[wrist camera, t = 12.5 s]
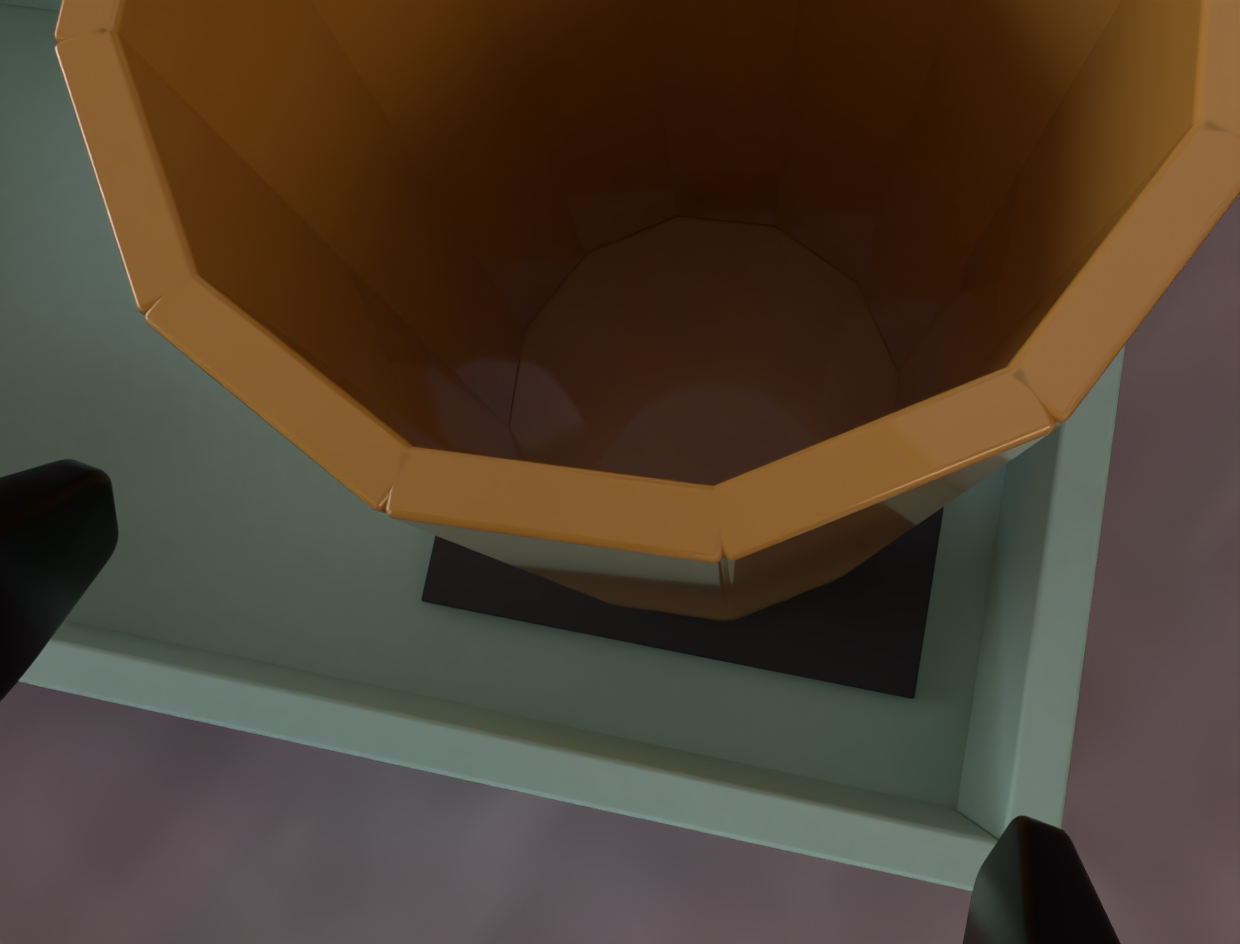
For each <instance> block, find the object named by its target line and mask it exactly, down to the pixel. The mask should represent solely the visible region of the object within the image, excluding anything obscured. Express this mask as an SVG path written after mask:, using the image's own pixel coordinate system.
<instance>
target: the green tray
mask: <svg viewBox="0 0 1240 944" xmlns="http://www.w3.org/2000/svg"><path fill="white" fill-rule="evenodd" d="M60 4H61V0H0V477H3V476H6V475H10V474H13V473H17V472H20V471H24V470H27V469H30V468H34V467H37V466H41V465H44V464H48V463H51V462H54V461H58V460H63V459H73V460H77V461H80V462H82V463H85V464H88V465H90V466H93V467H96V468H98V469H101V470H103V471H104V472H106V473H107V474H108V476H109V477H110V479H111V482H112V487H113V494H114V501H115V508H116V515H117V522H118V529H119V536H118V542H117V545H116V548H115V550H114V552H113V554H112V556H111V558H110V559H109V561H108V562H107V563H106V565H105V566H104V567H103V569H102V570H101V571H100V573H99V574H98V575H97V577H96V578H95V580H94V581H93V582H92V584H91V585H90V586H89V588H88V589H87V590H86V592H85V593H84V594H83V596H82V597H81V599H80V600H79V601H78V603H77V604H76V605H75V607H74V608H73V609H72V611H71V612H70V614H69V615H68V616H67V618H66V619H65V620H64V622H63V623H62V624H61V626H60V627H59V628H58V630H57V631H56V633H55V634H54V635H53V637H52V638H51V639H50V641H49V642H48V643H47V645H46V646H45V647H44V649H43V650H42V652H41V653H40V654H39V656H38V657H37V658H36V660H35V661H34V662H33V663H32V665H31V666H30V667H29V668H28V670H27V671H26V672H25V673H24V675H23V676H22V677H21V678H20V680H19V681H18V682H22V683H26V684H31V685H35V686H40V687H44V688H49V689H54V690H58V691H63V692H67V693H72V694H76V695H81V696H85V697H90V698H94V699H99V700H104V701H108V702H113V703H117V704H122V705H126V706H131V707H135V708H140V709H145V710H149V711H154V712H158V713H163V714H167V715H172V716H176V717H181V718H185V719H190V720H195V721H199V722H204V723H208V724H213V725H217V726H222V727H226V728H231V729H236V730H240V731H245V732H249V733H254V734H258V735H263V736H267V737H272V738H276V739H281V740H286V741H290V742H295V743H299V744H304V745H308V746H313V747H317V748H322V749H327V750H331V751H336V752H340V753H345V754H349V755H354V756H358V757H363V758H367V759H372V760H377V761H381V762H386V763H390V764H395V765H399V766H404V767H408V768H413V769H418V770H422V771H427V772H431V773H436V774H440V775H445V776H449V777H454V778H458V779H463V780H468V781H472V782H477V783H481V784H486V785H490V786H495V787H499V788H504V789H509V790H513V791H518V792H522V793H527V794H531V795H536V796H540V797H545V798H549V799H554V800H559V801H563V802H568V803H572V804H577V805H581V806H586V807H590V808H595V809H600V810H604V811H609V812H613V813H618V814H622V815H627V816H631V817H636V818H640V819H645V820H650V821H654V822H659V823H663V824H668V825H672V826H677V827H681V828H686V829H690V830H695V831H700V832H704V833H709V834H713V835H718V836H722V837H727V838H731V839H736V840H741V841H745V842H750V843H754V844H759V845H763V846H768V847H772V848H777V849H781V850H786V851H791V852H795V853H800V854H804V855H809V856H813V857H818V858H822V859H827V860H832V861H836V862H841V863H845V864H850V865H854V866H859V867H863V868H868V869H872V870H877V871H882V872H886V873H891V874H895V875H900V876H904V877H909V878H913V879H918V880H923V881H927V882H932V883H936V884H941V885H945V886H950V887H954V888H959V889H963V890H968V891H973V887H974V883H975V880H976V877H977V874H978V872H979V870H980V867H981V865H982V864H983V862H984V861H985V859H986V858H987V856H988V855H989V853H990V852H991V850H992V849H993V847H994V846H995V844H996V843H997V841H998V840H999V838H1000V837H1001V835H1002V834H1003V832H1004V831H1005V829H1006V828H1007V826H1008V825H1009V823H1010V822H1011V821H1012V820H1013V819H1014V818H1015V817H1017V816H1020V815H1025V816H1028V817H1031V818H1034V819H1036V820H1039V821H1042V822H1045V823H1047V824H1050V825H1053V826H1055V827H1058V828H1060V829H1061V827H1062V819H1063V812H1064V804H1065V797H1066V789H1067V782H1068V774H1069V767H1070V759H1071V752H1072V744H1073V736H1074V729H1075V721H1076V714H1077V706H1078V699H1079V691H1080V684H1081V676H1082V669H1083V661H1084V654H1085V646H1086V638H1087V631H1088V623H1089V616H1090V608H1091V601H1092V593H1093V586H1094V578H1095V571H1096V563H1097V556H1098V548H1099V540H1100V533H1101V525H1102V518H1103V510H1104V503H1105V495H1106V488H1107V480H1108V473H1109V465H1110V458H1111V450H1112V442H1113V435H1114V427H1115V420H1116V412H1117V405H1118V397H1119V390H1120V382H1121V375H1122V367H1123V360H1124V352H1125V345H1126V344H1125V345H1124V347H1123V348H1122V349H1121V351H1120V352H1119V353H1118V355H1117V356H1116V357H1115V359H1114V360H1113V361H1112V362H1111V364H1110V365H1109V366H1108V368H1107V369H1106V370H1105V372H1104V373H1103V374H1102V376H1101V377H1100V378H1099V380H1098V381H1097V382H1096V384H1095V385H1094V386H1093V387H1092V389H1091V390H1090V391H1089V393H1088V394H1087V395H1086V397H1085V398H1084V399H1083V401H1082V402H1081V403H1080V405H1079V406H1078V407H1077V409H1076V410H1075V411H1074V413H1073V414H1072V415H1071V416H1070V418H1069V419H1068V420H1067V421H1065V422H1064V423H1062V424H1061V425H1060V426H1058V427H1057V428H1055V429H1054V430H1053V431H1052V432H1051V433H1050V434H1048V435H1047V436H1045V437H1044V438H1042V439H1041V440H1040V441H1038V442H1037V443H1035V444H1034V445H1032V446H1031V447H1029V448H1028V449H1026V450H1025V451H1024V452H1022V453H1021V454H1019V455H1018V456H1016V457H1015V458H1013V459H1012V460H1010V461H1009V462H1008V463H1006V464H1005V465H1003V466H1002V467H1000V468H999V469H997V470H996V471H995V472H993V473H992V474H990V475H989V476H987V477H986V478H984V479H983V480H981V481H980V482H979V483H977V484H976V485H974V486H973V487H971V488H970V489H968V490H967V491H965V492H964V493H963V494H961V495H960V496H958V497H957V498H955V499H954V500H952V501H951V502H949V503H948V504H947V505H945V506H944V510H943V516H942V523H941V529H940V536H939V542H938V549H937V555H936V562H935V568H934V575H933V581H932V588H931V594H930V601H929V607H928V614H927V620H926V627H925V633H924V640H923V646H922V653H921V659H920V666H919V672H918V679H917V685H916V692H915V697H914V699H910V698H905V697H900V696H895V695H890V694H885V693H880V692H875V691H870V690H865V689H860V688H855V687H850V686H845V685H840V684H835V683H830V682H825V681H820V680H815V679H810V678H805V677H800V676H795V675H790V674H785V673H779V672H774V671H769V670H764V669H759V668H754V667H749V666H744V665H739V664H734V663H729V662H724V661H719V660H714V659H709V658H704V657H699V656H694V655H689V654H684V653H679V652H674V651H669V650H664V649H659V648H654V647H649V646H644V645H639V644H634V643H629V642H623V641H618V640H613V639H608V638H603V637H598V636H593V635H588V634H583V633H578V632H573V631H568V630H563V629H558V628H553V627H548V626H543V625H538V624H533V623H528V622H523V621H518V620H513V619H508V618H503V617H498V616H493V615H488V614H483V613H478V612H473V611H467V610H462V609H457V608H452V607H447V606H442V605H437V604H432V603H427V602H423V601H422V600H421V598H422V593H423V589H424V584H425V580H426V575H427V571H428V566H429V562H430V557H431V553H432V548H433V543H434V539H435V535H433V534H431V533H428V532H426V531H423V530H421V529H418V528H415V527H413V526H410V525H408V524H405V523H403V522H400V521H398V520H395V519H392V518H391V517H389V516H387V515H385V514H382V513H379V512H377V511H374V510H372V509H371V508H370V507H369V506H368V505H366V504H365V503H364V502H363V501H361V500H360V499H359V498H358V497H357V496H355V495H354V494H353V493H352V492H350V491H349V490H348V489H347V488H346V487H344V486H343V485H342V484H341V483H340V482H338V481H337V480H336V479H335V478H333V477H332V476H331V475H330V474H329V473H327V472H326V471H325V470H324V469H322V468H321V467H320V466H319V465H318V464H316V463H315V462H314V461H313V460H312V459H310V458H309V457H308V456H307V455H305V454H304V453H303V452H302V451H301V450H299V449H298V448H297V447H296V446H294V445H293V444H292V443H291V442H290V441H288V440H287V439H286V438H285V437H284V436H282V435H281V434H280V433H279V432H277V431H276V430H275V429H274V428H273V427H271V426H270V425H269V424H268V423H267V422H265V421H264V420H263V419H262V418H260V417H259V416H258V415H257V414H256V413H254V412H253V411H252V410H251V409H249V408H248V407H247V406H246V405H245V404H243V403H242V402H241V401H240V400H239V399H237V398H236V397H235V396H234V395H232V394H231V393H230V392H229V391H228V390H226V389H225V388H224V387H223V386H221V385H220V384H219V383H218V382H217V381H215V380H214V379H213V378H212V377H211V376H209V375H208V374H207V373H206V372H204V371H203V370H202V369H201V368H200V367H198V366H197V365H196V364H195V363H193V362H192V361H191V360H190V359H189V358H187V357H186V356H185V355H184V354H183V353H181V352H180V351H179V350H178V349H176V348H175V347H174V346H173V345H172V344H170V343H169V342H168V341H167V340H166V339H164V338H163V337H162V336H161V335H159V334H158V333H157V332H156V331H155V330H153V329H152V328H151V327H150V326H148V324H147V323H146V321H145V319H144V316H145V315H143V314H141V313H140V312H139V311H138V310H137V307H136V304H135V301H134V298H133V295H132V292H131V289H130V286H129V282H128V279H127V276H126V273H125V270H124V267H123V264H122V261H121V257H120V254H119V251H118V248H117V245H116V242H115V239H114V236H113V232H112V229H111V226H110V223H109V220H108V217H107V214H106V210H105V207H104V204H103V201H102V198H101V195H100V192H99V189H98V185H97V182H96V179H95V176H94V173H93V170H92V167H91V164H90V160H89V157H88V154H87V151H86V148H85V145H84V142H83V138H82V135H81V132H80V129H79V126H78V123H77V120H76V117H75V113H74V110H73V107H72V104H71V101H70V98H69V95H68V92H67V88H66V85H65V82H64V79H63V76H62V73H61V70H60V66H59V63H58V60H57V57H56V54H55V51H54V46H55V45H56V44H57V42H56V40H55V38H54V29H55V25H56V21H57V17H58V13H59V9H60Z"/></svg>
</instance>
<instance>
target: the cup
mask: <svg viewBox="0 0 1240 944" xmlns="http://www.w3.org/2000/svg"><path fill="white" fill-rule="evenodd" d="M54 38H55V40H56V42H57V44H56V45H55V46H54V51H55V54H56V57H57V60H58V63H59V66H60V70H61V73H62V76H63V79H64V82H65V85H66V88H67V92H68V95H69V98H70V101H71V104H72V107H73V110H74V113H75V117H76V120H77V123H78V126H79V129H80V132H81V135H82V138H83V142H84V145H85V148H86V151H87V154H88V157H89V160H90V164H91V167H92V170H93V173H94V176H95V179H96V182H97V185H98V189H99V192H100V195H101V198H102V201H103V204H104V207H105V210H106V214H107V217H108V220H109V223H110V226H111V229H112V232H113V236H114V239H115V242H116V245H117V248H118V251H119V254H120V257H121V261H122V264H123V267H124V270H125V273H126V276H127V279H128V282H129V286H130V289H131V292H132V295H133V298H134V301H135V304H136V307H137V310H138V311H139V312H140V313H141V314H143V315H145V316H144V319H145V321H146V323H147V324H148V326H150V327H151V328H152V329H153V330H155V331H156V332H157V333H158V334H159V335H161V336H162V337H163V338H164V339H166V340H167V341H168V342H169V343H170V344H172V345H173V346H174V347H175V348H176V349H178V350H179V351H180V352H181V353H183V354H184V355H185V356H186V357H187V358H189V359H190V360H191V361H192V362H193V363H195V364H196V365H197V366H198V367H200V368H201V369H202V370H203V371H204V372H206V373H207V374H208V375H209V376H211V377H212V378H213V379H214V380H215V381H217V382H218V383H219V384H220V385H221V386H223V387H224V388H225V389H226V390H228V391H229V392H230V393H231V394H232V395H234V396H235V397H236V398H237V399H239V400H240V401H241V402H242V403H243V404H245V405H246V406H247V407H248V408H249V409H251V410H252V411H253V412H254V413H256V414H257V415H258V416H259V417H260V418H262V419H263V420H264V421H265V422H267V423H268V424H269V425H270V426H271V427H273V428H274V429H275V430H276V431H277V432H279V433H280V434H281V435H282V436H284V437H285V438H286V439H287V440H288V441H290V442H291V443H292V444H293V445H294V446H296V447H297V448H298V449H299V450H301V451H302V452H303V453H304V454H305V455H307V456H308V457H309V458H310V459H312V460H313V461H314V462H315V463H316V464H318V465H319V466H320V467H321V468H322V469H324V470H325V471H326V472H327V473H329V474H330V475H331V476H332V477H333V478H335V479H336V480H337V481H338V482H340V483H341V484H342V485H343V486H344V487H346V488H347V489H348V490H349V491H350V492H352V493H353V494H354V495H355V496H357V497H358V498H359V499H360V500H361V501H363V502H364V503H365V504H366V505H368V506H369V507H370V508H371V509H372V510H374V511H377V512H379V513H382V514H385V515H387V516H389V517H391V518H392V519H395V520H398V521H400V522H403V523H405V524H408V525H410V526H413V527H415V528H418V529H421V530H423V531H426V532H428V533H431V534H433V535H436V536H438V537H441V538H444V539H446V540H449V541H451V542H454V543H456V544H459V545H461V546H464V547H467V548H469V549H472V550H474V551H477V552H479V553H482V554H484V555H487V556H489V557H492V558H495V559H497V560H500V561H502V562H505V563H507V564H510V565H512V566H515V567H518V568H520V569H523V570H525V571H528V572H530V573H533V574H535V575H538V576H541V577H543V578H546V579H548V580H551V581H553V582H556V583H558V584H561V585H564V586H566V587H569V588H571V589H574V590H576V591H579V592H581V593H584V594H587V595H589V596H592V597H594V598H597V599H599V600H602V601H604V602H607V603H610V604H612V605H615V606H619V607H625V608H632V609H639V610H646V611H653V612H659V613H664V614H669V615H674V616H687V617H694V618H701V619H707V620H714V621H721V622H728V621H729V620H730V621H736V620H738V619H741V618H743V617H746V616H748V615H750V614H753V613H755V612H758V611H760V610H763V609H765V608H768V607H770V606H773V605H777V604H780V603H783V602H785V601H787V600H789V599H791V598H793V597H795V596H798V595H800V594H803V593H805V592H808V591H810V590H813V589H815V588H818V587H820V586H823V585H825V584H828V583H830V582H833V581H835V580H838V579H839V578H840V577H842V576H843V575H845V574H846V573H848V572H849V571H851V570H852V569H854V568H855V567H856V566H858V565H859V564H861V563H862V562H864V561H865V560H867V559H868V558H870V557H871V556H872V555H874V554H875V553H877V552H878V551H880V550H881V549H883V548H884V547H886V546H887V545H888V544H890V543H891V542H893V541H894V540H896V539H897V538H899V537H900V536H902V535H903V534H904V533H906V532H907V531H909V530H910V529H912V528H913V527H915V526H916V525H917V524H919V523H920V522H922V521H923V520H925V519H926V518H928V517H929V516H931V515H932V514H933V513H935V512H936V511H938V510H939V509H941V508H942V507H944V506H945V505H947V504H948V503H949V502H951V501H952V500H954V499H955V498H957V497H958V496H960V495H961V494H963V493H964V492H965V491H967V490H968V489H970V488H971V487H973V486H974V485H976V484H977V483H979V482H980V481H981V480H983V479H984V478H986V477H987V476H989V475H990V474H992V473H993V472H995V471H996V470H997V469H999V468H1000V467H1002V466H1003V465H1005V464H1006V463H1008V462H1009V461H1010V460H1012V459H1013V458H1015V457H1016V456H1018V455H1019V454H1021V453H1022V452H1024V451H1025V450H1026V449H1028V448H1029V447H1031V446H1032V445H1034V444H1035V443H1037V442H1038V441H1040V440H1041V439H1042V438H1044V437H1045V436H1047V435H1048V434H1050V433H1051V432H1052V431H1053V430H1054V429H1055V428H1057V427H1058V426H1060V425H1061V424H1062V423H1064V422H1065V421H1067V420H1068V419H1069V418H1070V416H1071V415H1072V414H1073V413H1074V411H1075V410H1076V409H1077V407H1078V406H1079V405H1080V403H1081V402H1082V401H1083V399H1084V398H1085V397H1086V395H1087V394H1088V393H1089V391H1090V390H1091V389H1092V387H1093V386H1094V385H1095V384H1096V382H1097V381H1098V380H1099V378H1100V377H1101V376H1102V374H1103V373H1104V372H1105V370H1106V369H1107V368H1108V366H1109V365H1110V364H1111V362H1112V361H1113V360H1114V359H1115V357H1116V356H1117V355H1118V353H1119V352H1120V351H1121V349H1122V348H1123V347H1124V345H1125V344H1126V343H1127V341H1128V340H1129V339H1130V337H1131V336H1132V335H1133V333H1134V332H1135V331H1136V330H1137V328H1138V327H1139V326H1140V324H1141V323H1142V322H1143V320H1144V319H1145V318H1146V316H1147V315H1148V314H1149V312H1150V311H1151V310H1152V308H1153V307H1154V306H1155V304H1156V303H1157V302H1158V301H1159V299H1160V298H1161V297H1162V295H1163V294H1164V293H1165V291H1166V290H1167V289H1168V287H1169V286H1170V285H1171V283H1172V282H1173V281H1174V279H1175V278H1176V277H1177V275H1178V274H1179V273H1180V272H1181V270H1182V269H1183V268H1184V266H1185V265H1186V264H1187V262H1188V261H1189V260H1190V258H1191V257H1192V256H1193V254H1194V253H1195V252H1196V250H1197V249H1198V248H1199V246H1200V245H1201V244H1202V243H1203V241H1204V240H1205V239H1206V237H1207V236H1208V235H1209V233H1210V232H1211V231H1212V229H1213V228H1214V227H1215V225H1216V224H1217V223H1218V221H1219V220H1220V219H1221V218H1222V216H1223V215H1224V214H1225V212H1226V211H1227V210H1228V208H1229V207H1230V206H1231V204H1232V203H1233V202H1234V200H1235V199H1236V198H1237V196H1238V195H1239V194H1240V0H61V4H60V9H59V13H58V17H57V21H56V25H55V29H54Z"/></svg>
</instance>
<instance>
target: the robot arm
mask: <svg viewBox="0 0 1240 944" xmlns="http://www.w3.org/2000/svg"><path fill="white" fill-rule="evenodd" d="M118 536H119V529H118V522H117V515H116V508H115V501H114V494H113V487H112V482H111V479H110V477H109V476H108V474H107V473H106V472H104V471H103V470H101V469H98V468H96V467H93V466H90V465H88V464H85V463H82V462H80V461H77V460H73V459H63V460H58V461H54V462H51V463H48V464H44V465H41V466H37V467H34V468H30V469H27V470H24V471H20V472H17V473H13V474H10V475H6V476H3V477H0V701H1V700H2V699H3V698H4V697H5V696H6V695H7V693H8V692H9V691H10V690H11V689H12V688H13V686H14V685H15V684H16V683H17V682H18V681H19V680H20V678H21V677H22V676H23V675H24V673H25V672H26V671H27V670H28V668H29V667H30V666H31V665H32V663H33V662H34V661H35V660H36V658H37V657H38V656H39V654H40V653H41V652H42V650H43V649H44V647H45V646H46V645H47V643H48V642H49V641H50V639H51V638H52V637H53V635H54V634H55V633H56V631H57V630H58V628H59V627H60V626H61V624H62V623H63V622H64V620H65V619H66V618H67V616H68V615H69V614H70V612H71V611H72V609H73V608H74V607H75V605H76V604H77V603H78V601H79V600H80V599H81V597H82V596H83V594H84V593H85V592H86V590H87V589H88V588H89V586H90V585H91V584H92V582H93V581H94V580H95V578H96V577H97V575H98V574H99V573H100V571H101V570H102V569H103V567H104V566H105V565H106V563H107V562H108V561H109V559H110V558H111V556H112V554H113V552H114V550H115V548H116V545H117V542H118ZM963 944H1121V943H1120V941H1119V939H1118V937H1117V935H1116V933H1115V931H1114V929H1113V927H1112V925H1111V922H1110V920H1109V918H1108V916H1107V914H1106V912H1105V910H1104V908H1103V906H1102V904H1101V902H1100V899H1099V897H1098V895H1097V893H1096V891H1095V889H1094V887H1093V885H1092V883H1091V881H1090V878H1089V876H1088V874H1087V872H1086V870H1085V868H1084V866H1083V864H1082V862H1081V860H1080V858H1079V855H1078V853H1077V851H1076V849H1075V847H1074V845H1073V843H1072V841H1071V839H1070V837H1069V836H1068V835H1067V834H1066V833H1065V832H1064V831H1063V830H1062V829H1060V828H1058V827H1055V826H1053V825H1050V824H1047V823H1045V822H1042V821H1039V820H1036V819H1034V818H1031V817H1028V816H1025V815H1020V816H1017V817H1015V818H1014V819H1013V820H1012V821H1011V822H1010V823H1009V825H1008V826H1007V828H1006V829H1005V831H1004V832H1003V834H1002V835H1001V837H1000V838H999V840H998V841H997V843H996V844H995V846H994V847H993V849H992V850H991V852H990V853H989V855H988V856H987V858H986V859H985V861H984V862H983V864H982V865H981V867H980V870H979V872H978V874H977V877H976V880H975V883H974V887H973V891H972V896H971V902H970V907H969V913H968V918H967V924H966V929H965V935H964V940H963Z"/></svg>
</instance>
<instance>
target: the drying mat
mask: <svg viewBox="0 0 1240 944" xmlns="http://www.w3.org/2000/svg"><path fill="white" fill-rule="evenodd" d="M943 510H944V507H942V508H941V509H939V510H938V511H936V512H935V513H933V514H932V515H931V516H929V517H928V518H926V519H925V520H923V521H922V522H920V523H919V524H917V525H916V526H915V527H913V528H912V529H910V530H909V531H907V532H906V533H904V534H903V535H902V536H900V537H899V538H897V539H896V540H894V541H893V542H891V543H890V544H888V545H887V546H886V547H884V548H883V549H881V550H880V551H878V552H877V553H875V554H874V555H872V556H871V557H870V558H868V559H867V560H865V561H864V562H862V563H861V564H859V565H858V566H856V567H855V568H854V569H852V570H851V571H849V572H848V573H846V574H845V575H843V576H842V577H840V578H839V579H838V580H835V581H833V582H830V583H828V584H825V585H823V586H820V587H818V588H815V589H813V590H810V591H808V592H805V593H803V594H800V595H798V596H795V597H793V598H791V599H789V600H787V601H785V602H783V603H780V604H777V605H773V606H770V607H768V608H765V609H763V610H760V611H758V612H755V613H753V614H750V615H748V616H746V617H743V618H741V619H738V620H736V621H730V620H729V621H728V622H721V621H714V620H707V619H701V618H694V617H687V616H674V615H669V614H664V613H659V612H653V611H646V610H639V609H632V608H625V607H619V606H615V605H612V604H610V603H607V602H604V601H602V600H599V599H597V598H594V597H592V596H589V595H587V594H584V593H581V592H579V591H576V590H574V589H571V588H569V587H566V586H564V585H561V584H558V583H556V582H553V581H551V580H548V579H546V578H543V577H541V576H538V575H535V574H533V573H530V572H528V571H525V570H523V569H520V568H518V567H515V566H512V565H510V564H507V563H505V562H502V561H500V560H497V559H495V558H492V557H489V556H487V555H484V554H482V553H479V552H477V551H474V550H472V549H469V548H467V547H464V546H461V545H459V544H456V543H454V542H451V541H449V540H446V539H444V538H441V537H438V536H436V535H435V539H434V543H433V548H432V553H431V557H430V562H429V566H428V571H427V575H426V580H425V584H424V589H423V593H422V598H421V600H422V601H423V602H427V603H432V604H437V605H442V606H447V607H452V608H457V609H462V610H467V611H473V612H478V613H483V614H488V615H493V616H498V617H503V618H508V619H513V620H518V621H523V622H528V623H533V624H538V625H543V626H548V627H553V628H558V629H563V630H568V631H573V632H578V633H583V634H588V635H593V636H598V637H603V638H608V639H613V640H618V641H623V642H629V643H634V644H639V645H644V646H649V647H654V648H659V649H664V650H669V651H674V652H679V653H684V654H689V655H694V656H699V657H704V658H709V659H714V660H719V661H724V662H729V663H734V664H739V665H744V666H749V667H754V668H759V669H764V670H769V671H774V672H779V673H785V674H790V675H795V676H800V677H805V678H810V679H815V680H820V681H825V682H830V683H835V684H840V685H845V686H850V687H855V688H860V689H865V690H870V691H875V692H880V693H885V694H890V695H895V696H900V697H905V698H910V699H914V697H915V692H916V685H917V679H918V672H919V666H920V659H921V653H922V646H923V640H924V633H925V627H926V620H927V614H928V607H929V601H930V594H931V588H932V581H933V575H934V568H935V562H936V555H937V549H938V542H939V536H940V529H941V523H942V516H943Z"/></svg>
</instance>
